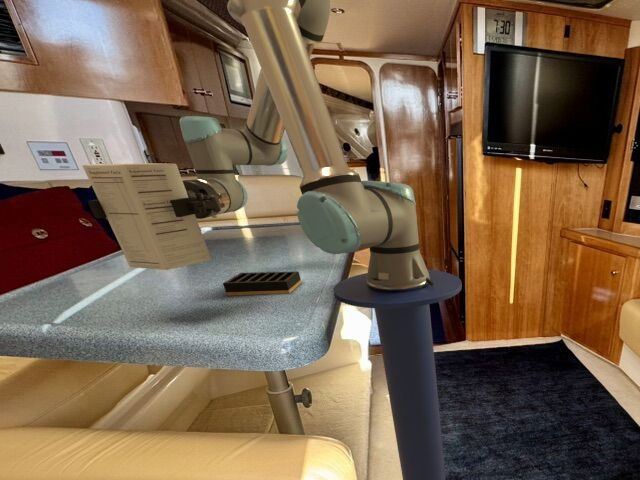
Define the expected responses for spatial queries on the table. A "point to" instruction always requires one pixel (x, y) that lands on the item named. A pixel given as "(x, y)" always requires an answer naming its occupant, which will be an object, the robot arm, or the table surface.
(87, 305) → the table surface
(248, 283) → the dish rack
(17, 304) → the table surface
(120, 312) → the table surface
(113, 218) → the supplement box
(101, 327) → the table surface
